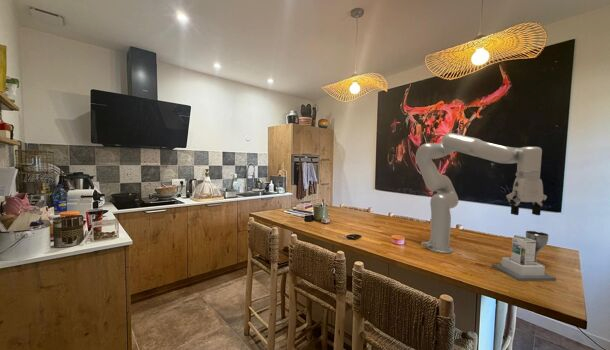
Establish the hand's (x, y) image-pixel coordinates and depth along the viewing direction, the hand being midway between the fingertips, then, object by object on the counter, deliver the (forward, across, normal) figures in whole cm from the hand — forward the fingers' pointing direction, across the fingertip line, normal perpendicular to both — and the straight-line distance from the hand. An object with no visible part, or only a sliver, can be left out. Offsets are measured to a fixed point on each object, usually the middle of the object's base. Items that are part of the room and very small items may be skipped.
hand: (525, 214), depth 108 cm
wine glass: (+26, +16, +10) cm, 32 cm away
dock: (+26, 0, 0) cm, 26 cm away
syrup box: (+25, 0, 0) cm, 25 cm away
